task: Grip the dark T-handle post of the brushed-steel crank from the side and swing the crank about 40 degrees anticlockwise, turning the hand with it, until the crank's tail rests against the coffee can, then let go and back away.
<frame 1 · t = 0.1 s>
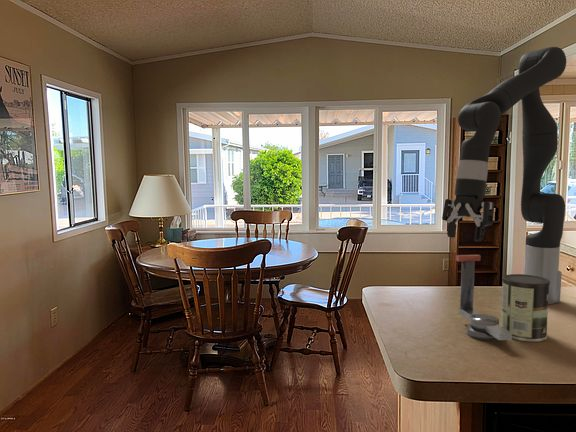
hand: (464, 239, 118), 22 cm above the kitchen counter, tool pointing down, fingers open, 8 cm apart
crank: (483, 294, 110), point 10 cm above the kitchen counter, hinge at 0.0°
coffee can: (522, 334, 110), on the kitchen counter
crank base: (484, 334, 110), on the kitchen counter
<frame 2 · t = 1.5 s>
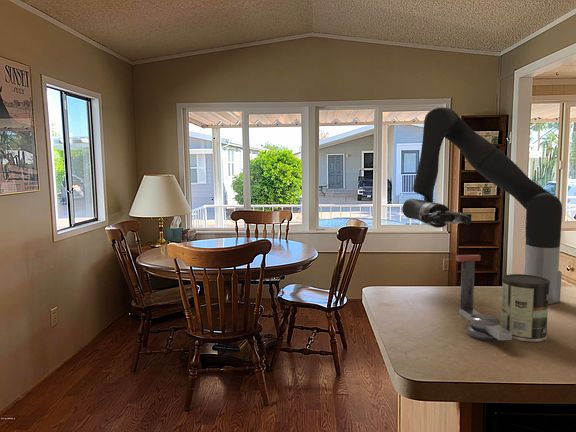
hand: (454, 220, 127), 26 cm above the kitchen counter, tool horizontal, fingers open, 8 cm apart
nothing on the kitchen counter moved.
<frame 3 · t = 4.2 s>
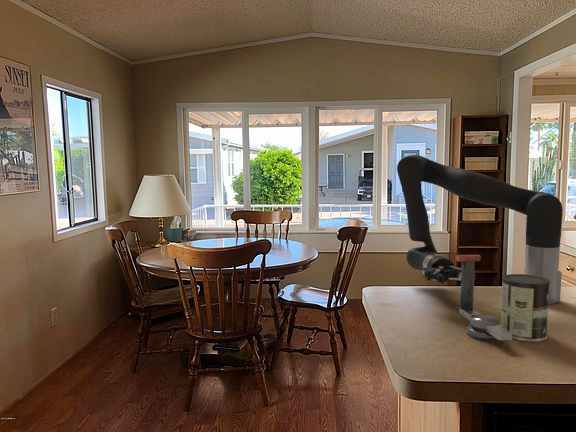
hand: (457, 279, 124), 10 cm above the kitchen counter, tool horizontal, fingers open, 8 cm apart
nothing on the kitchen counter moved.
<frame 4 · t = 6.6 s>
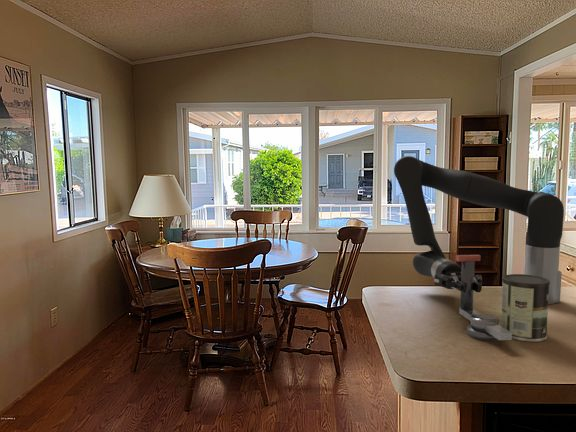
hand: (471, 288, 115), 10 cm above the kitchen counter, tool horizontal, fingers closed on crank, 3 cm apart
crank: (483, 294, 110), point 10 cm above the kitchen counter, hinge at 0.0°, touching gripper
everything else where it was.
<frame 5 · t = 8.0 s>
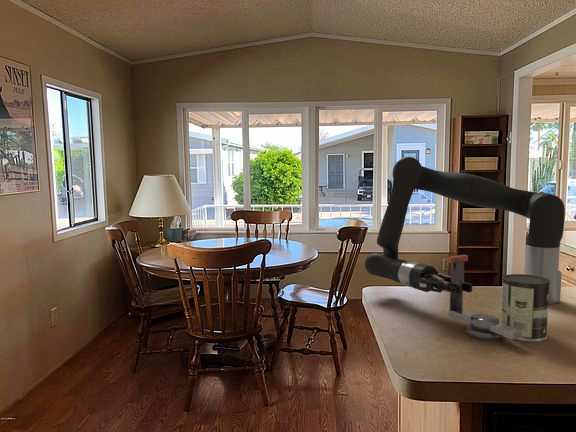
hand: (465, 289, 114), 10 cm above the kitchen counter, tool horizontal, fingers closed on crank, 3 cm apart
crank: (482, 294, 109), point 10 cm above the kitchen counter, hinge at 21.0°, touching gripper
everything else where it was.
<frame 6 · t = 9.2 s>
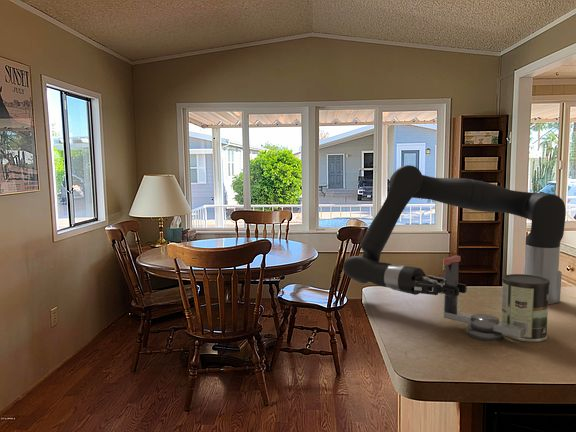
hand: (461, 290, 113), 10 cm above the kitchen counter, tool horizontal, fingers closed on crank, 3 cm apart
crank: (482, 294, 109), point 10 cm above the kitchen counter, hinge at 35.7°, touching gripper
everything else where it was.
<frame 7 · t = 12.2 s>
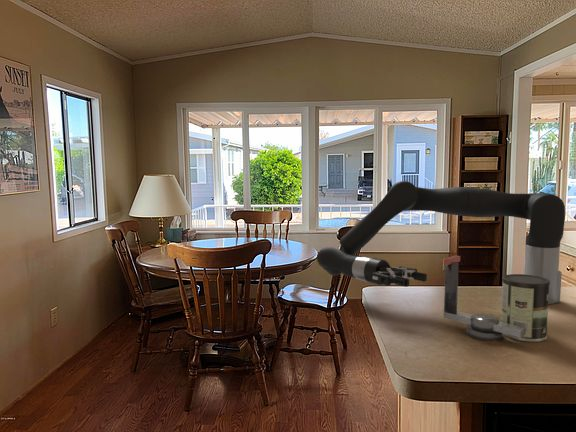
hand: (417, 280, 122), 11 cm above the kitchen counter, tool horizontal, fingers open, 8 cm apart
crank: (482, 294, 109), point 10 cm above the kitchen counter, hinge at 36.3°
everything else where it was.
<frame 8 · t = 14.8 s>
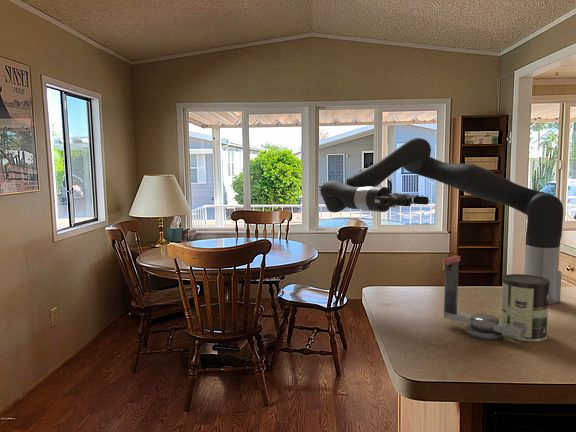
hand: (419, 201, 123), 32 cm above the kitchen counter, tool horizontal, fingers open, 8 cm apart
nothing on the kitchen counter moved.
at the end: crank at +36° (first picture: +0°); coffee can moved 0.2 cm from its start; the gripper is holding nothing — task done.
